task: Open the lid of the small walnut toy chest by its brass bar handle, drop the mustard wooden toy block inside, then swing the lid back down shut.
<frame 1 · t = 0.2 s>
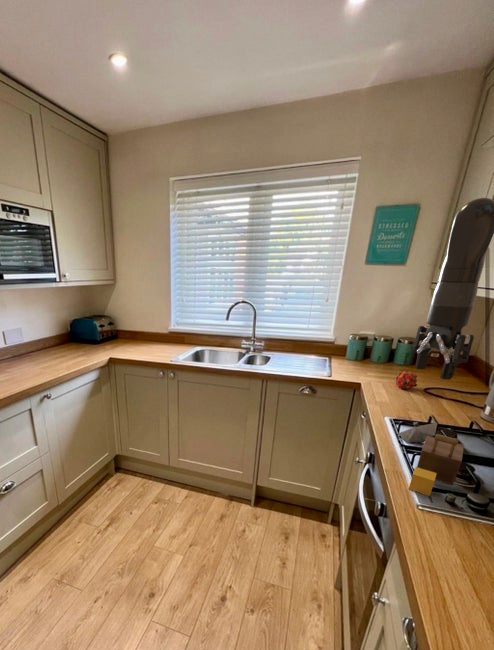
hand: (432, 373, 79), 28 cm above the countertop, tool pointing down, fingers open, 8 cm apart
lid: (445, 441, 87), point 9 cm above the countertop, hinge at 0.0°
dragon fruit: (404, 388, 156), on the countertop
paper boat: (416, 440, 107), on the countertop
toy: (420, 488, 83), on the countertop
chest: (435, 471, 90), on the countertop
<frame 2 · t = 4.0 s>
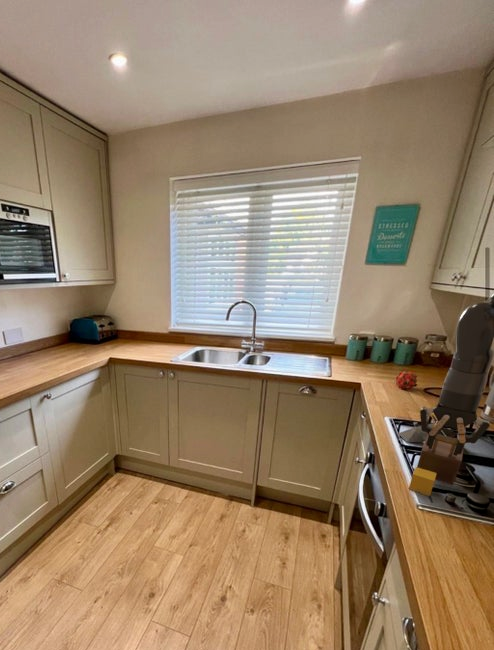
hand: (442, 450, 85), 8 cm above the countertop, tool pointing down, fingers closed on lid, 4 cm apart
lid: (445, 441, 87), point 9 cm above the countertop, hinge at 0.0°, touching gripper
everything else where it was.
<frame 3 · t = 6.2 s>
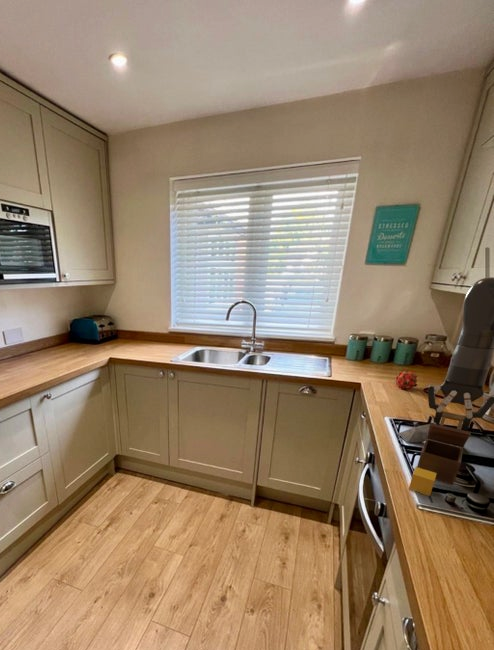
hand: (449, 427, 87), 13 cm above the countertop, tool pointing down, fingers closed on lid, 4 cm apart
lid: (449, 427, 87), point 12 cm above the countertop, hinge at 39.9°, touching gripper
everything else where it was.
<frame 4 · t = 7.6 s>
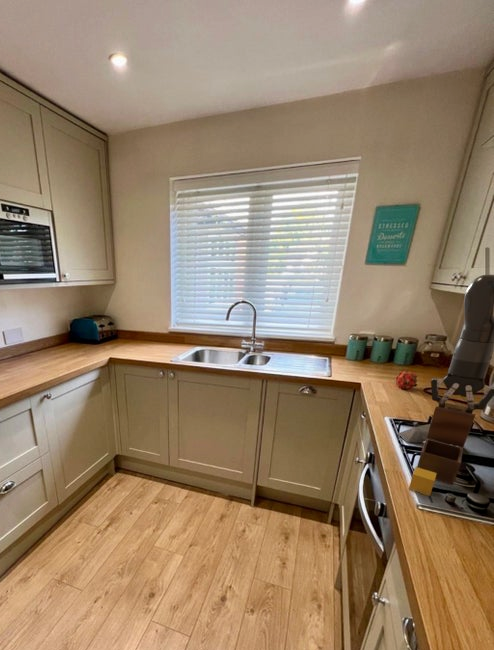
hand: (451, 418, 90), 13 cm above the countertop, tool pointing down, fingers closed on lid, 4 cm apart
lid: (451, 421, 89), point 13 cm above the countertop, hinge at 70.5°, touching gripper
everything else where it was.
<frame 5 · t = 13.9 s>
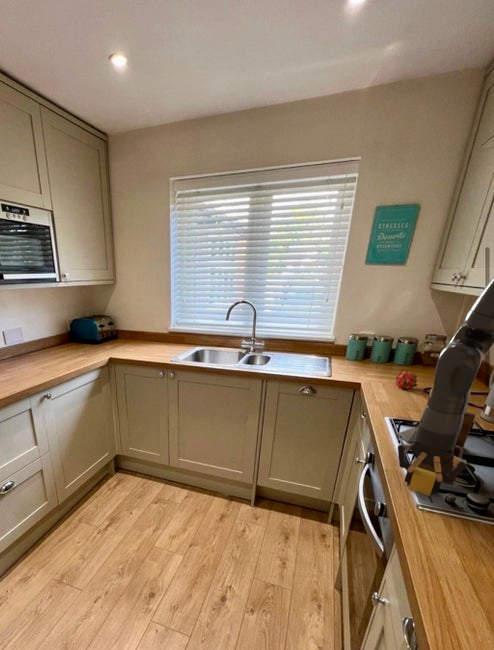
hand: (420, 487, 83), 0 cm above the countertop, tool pointing down, fingers closed on toy, 4 cm apart
lid: (451, 421, 89), point 13 cm above the countertop, hinge at 71.7°
toy: (420, 488, 83), on the countertop, touching gripper
everything else where it was.
when the fingers open (6 cm above the countertop, at t = 21.2 s): toy stays where it is, resting on chest.
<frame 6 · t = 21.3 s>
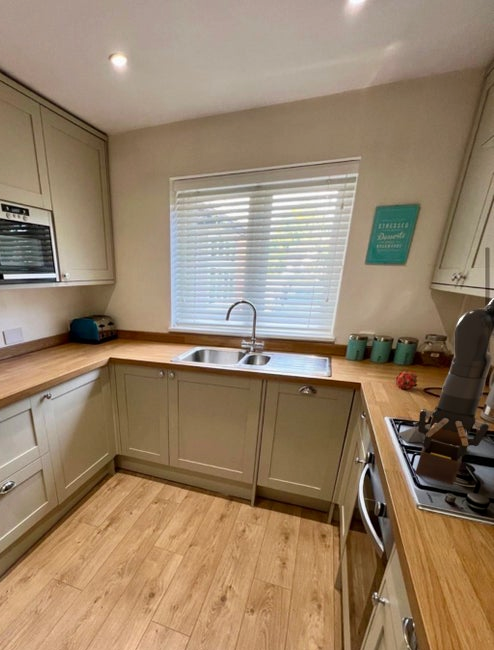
hand: (442, 452, 86), 7 cm above the countertop, tool pointing down, fingers open, 6 cm apart
toy: (435, 472, 89), point 1 cm above the countertop, touching chest
everything else where it was.
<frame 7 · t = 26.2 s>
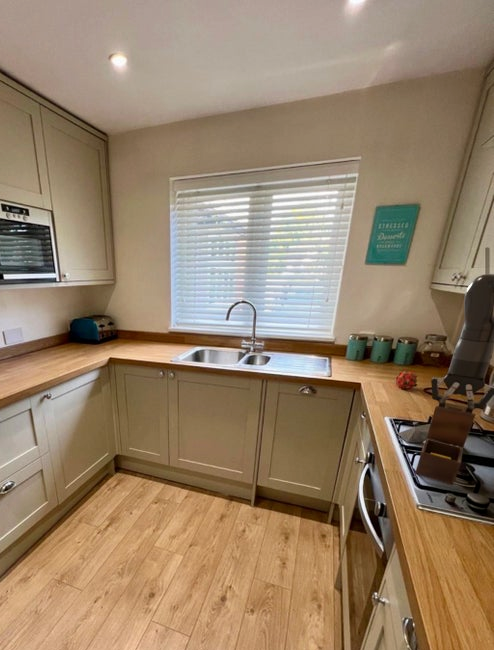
hand: (452, 417, 91), 14 cm above the countertop, tool pointing down, fingers closed on lid, 4 cm apart
lid: (451, 421, 89), point 13 cm above the countertop, hinge at 71.7°, touching gripper
everything else where it was.
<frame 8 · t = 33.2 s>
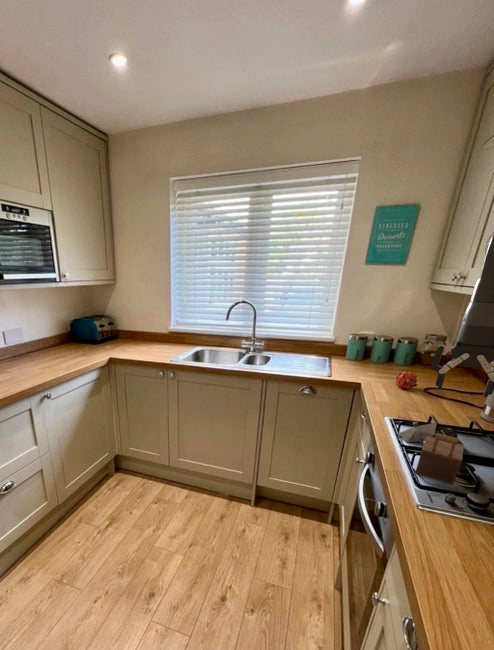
hand: (461, 391, 79), 24 cm above the countertop, tool pointing down, fingers open, 8 cm apart
lid: (445, 440, 87), point 9 cm above the countertop, hinge at 1.2°
everything else where it was.
at the end: toy inside the target area in the chest (2.1 cm from its centre), point 0.6 cm above the chest's base; lid reached +72° during the clip, +1° at the end; lid at +1° (first picture: +0°) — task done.
